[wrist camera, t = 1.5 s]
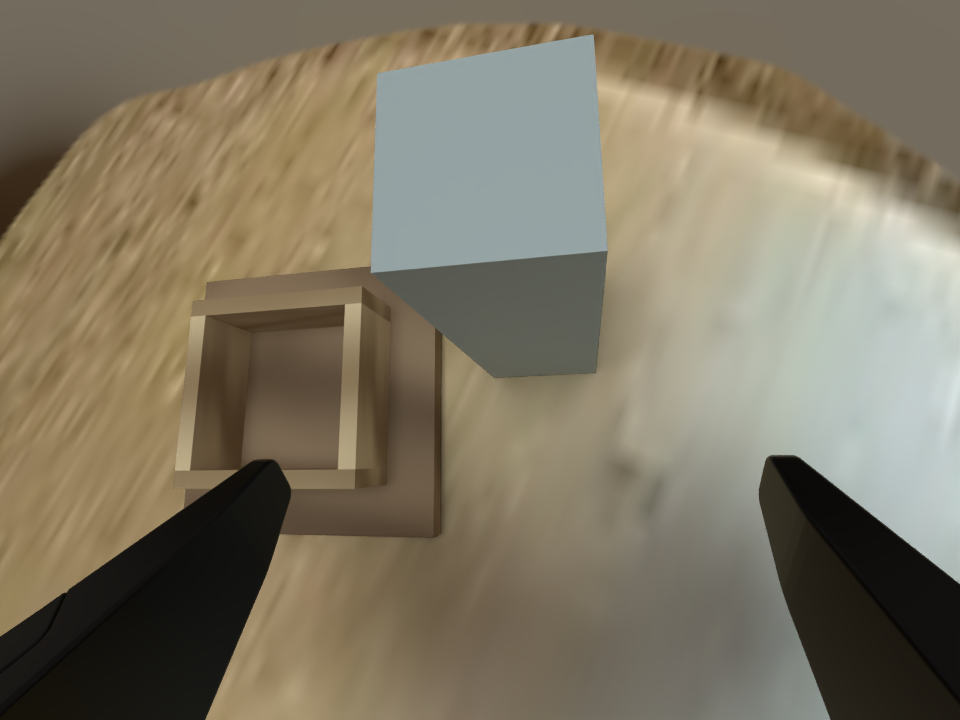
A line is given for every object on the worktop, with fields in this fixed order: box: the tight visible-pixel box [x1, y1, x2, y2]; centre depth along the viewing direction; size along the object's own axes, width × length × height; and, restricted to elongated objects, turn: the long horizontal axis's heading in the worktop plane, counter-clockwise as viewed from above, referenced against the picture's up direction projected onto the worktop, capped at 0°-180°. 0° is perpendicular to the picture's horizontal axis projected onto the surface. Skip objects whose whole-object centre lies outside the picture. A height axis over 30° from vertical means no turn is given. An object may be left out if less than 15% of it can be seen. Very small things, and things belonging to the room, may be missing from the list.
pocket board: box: [173, 267, 441, 538], centre depth 22 cm, size 12×12×4 cm
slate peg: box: [371, 35, 608, 378], centre depth 16 cm, size 4×4×13 cm
